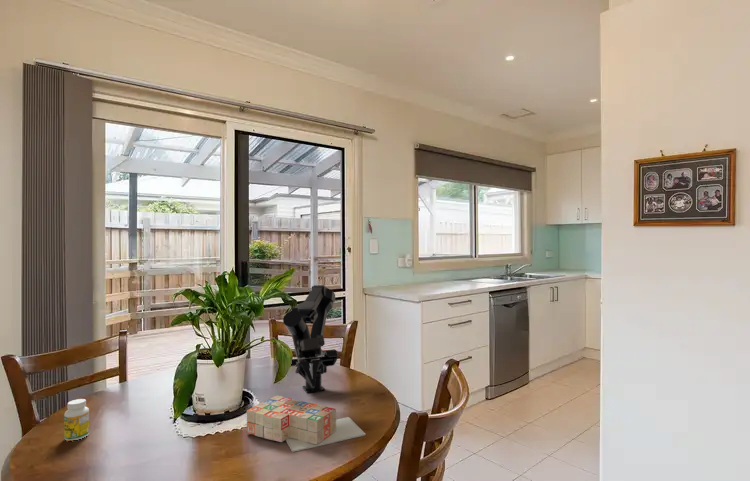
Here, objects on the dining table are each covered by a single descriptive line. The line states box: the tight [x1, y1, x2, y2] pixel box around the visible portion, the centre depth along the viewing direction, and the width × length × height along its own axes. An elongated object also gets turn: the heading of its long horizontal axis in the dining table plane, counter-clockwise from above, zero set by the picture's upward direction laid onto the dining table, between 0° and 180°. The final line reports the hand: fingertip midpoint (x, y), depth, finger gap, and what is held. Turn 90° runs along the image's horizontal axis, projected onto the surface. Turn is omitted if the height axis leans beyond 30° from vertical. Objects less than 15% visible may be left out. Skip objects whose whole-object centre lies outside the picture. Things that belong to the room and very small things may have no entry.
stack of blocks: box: [246, 395, 337, 445], centre depth 110 cm, size 21×6×12 cm
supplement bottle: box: [63, 398, 90, 441], centre depth 108 cm, size 5×5×10 cm
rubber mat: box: [285, 416, 367, 453], centre depth 109 cm, size 12×20×1 cm, turn 116°
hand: (313, 386), depth 118 cm, fingers closed
